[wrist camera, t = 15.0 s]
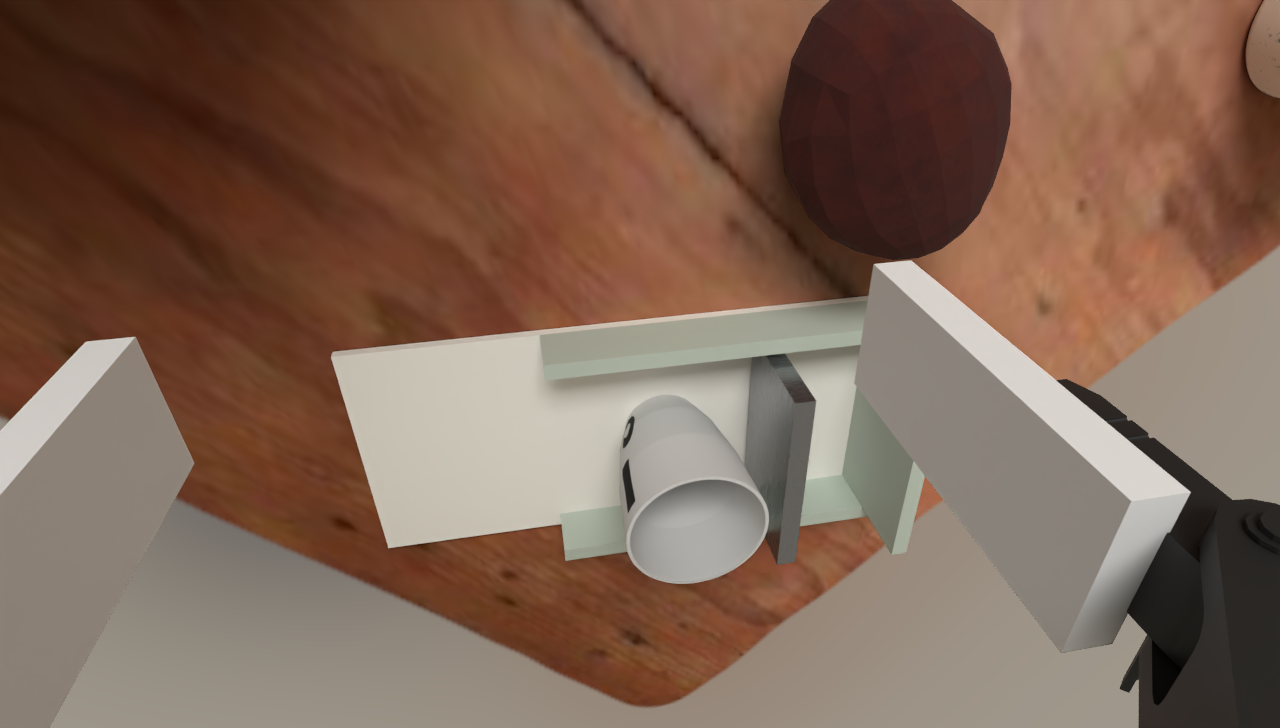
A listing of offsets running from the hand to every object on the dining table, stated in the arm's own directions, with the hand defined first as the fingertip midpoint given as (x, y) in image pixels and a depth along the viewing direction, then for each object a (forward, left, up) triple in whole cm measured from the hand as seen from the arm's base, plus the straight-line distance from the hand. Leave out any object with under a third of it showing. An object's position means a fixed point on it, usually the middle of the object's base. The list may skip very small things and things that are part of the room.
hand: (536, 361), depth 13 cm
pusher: (+14, -22, -26) cm, 37 cm away
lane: (+5, -22, -27) cm, 35 cm away
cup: (+8, -22, -26) cm, 35 cm away
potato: (+18, -2, -27) cm, 32 cm away
